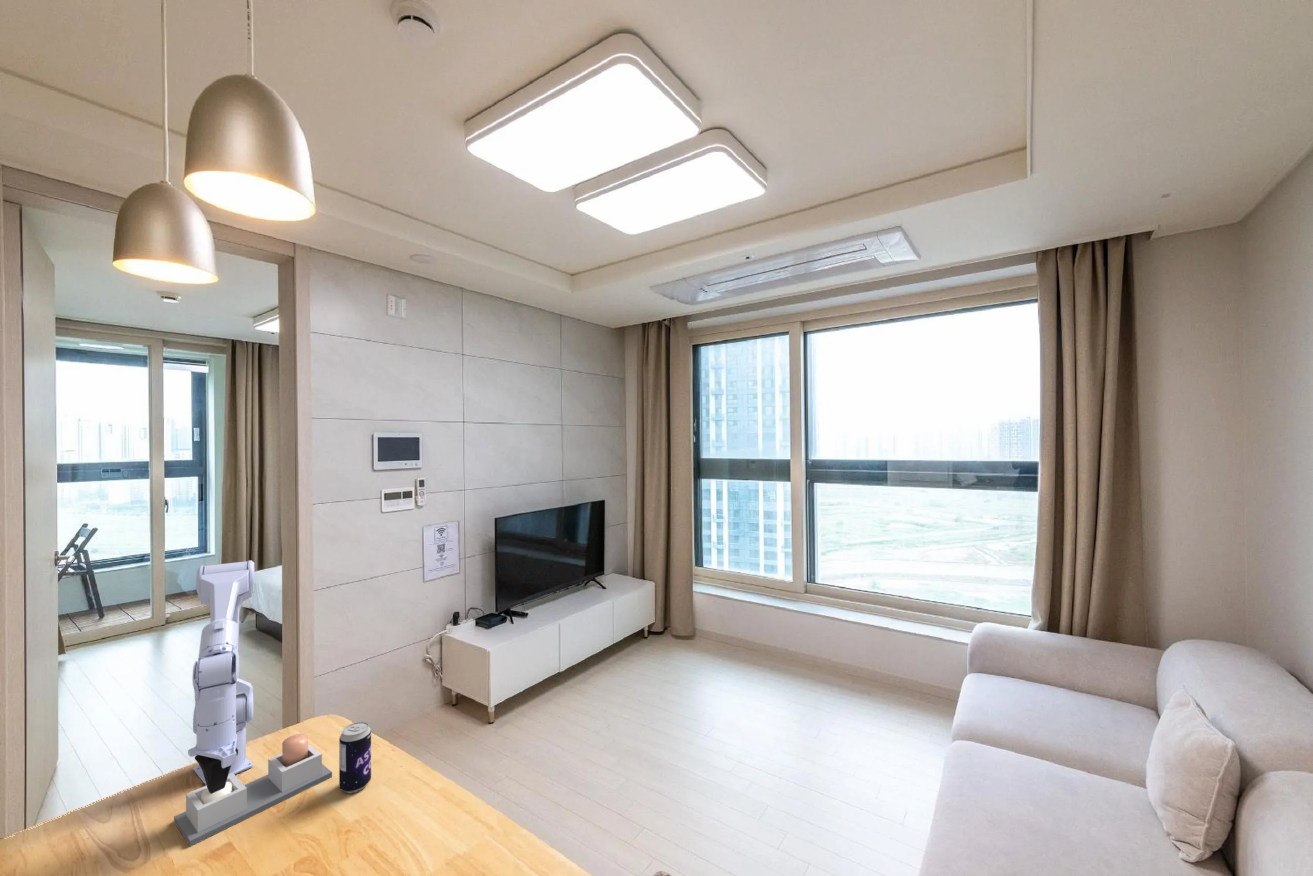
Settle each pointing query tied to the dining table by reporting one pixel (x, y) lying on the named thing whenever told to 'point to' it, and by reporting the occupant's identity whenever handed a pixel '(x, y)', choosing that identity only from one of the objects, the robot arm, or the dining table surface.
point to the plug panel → (249, 796)
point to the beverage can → (354, 757)
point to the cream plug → (215, 793)
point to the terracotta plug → (294, 749)
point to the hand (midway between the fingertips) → (216, 790)
